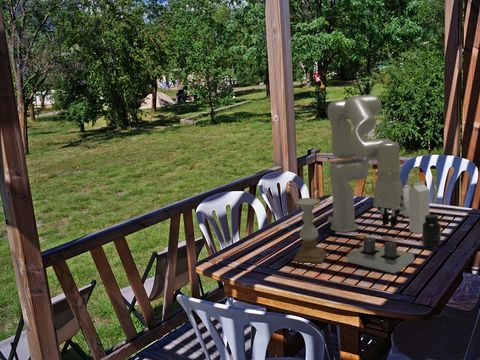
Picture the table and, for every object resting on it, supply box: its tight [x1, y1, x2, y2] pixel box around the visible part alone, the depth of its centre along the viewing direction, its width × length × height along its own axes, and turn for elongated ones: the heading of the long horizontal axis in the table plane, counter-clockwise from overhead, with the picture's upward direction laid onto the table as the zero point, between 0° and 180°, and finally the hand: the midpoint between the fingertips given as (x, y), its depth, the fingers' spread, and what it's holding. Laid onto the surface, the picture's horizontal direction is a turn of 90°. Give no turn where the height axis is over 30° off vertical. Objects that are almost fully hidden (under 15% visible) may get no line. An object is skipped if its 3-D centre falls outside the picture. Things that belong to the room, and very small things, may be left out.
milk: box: [408, 180, 430, 235], centre depth 226 cm, size 6×6×22 cm
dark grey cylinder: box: [383, 241, 398, 260], centre depth 193 cm, size 4×4×8 cm
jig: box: [346, 237, 415, 274], centre depth 197 cm, size 20×14×8 cm
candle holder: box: [293, 197, 328, 265], centre depth 203 cm, size 11×11×24 cm
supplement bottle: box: [422, 214, 442, 248], centre depth 209 cm, size 7×7×12 cm
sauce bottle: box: [398, 180, 411, 218], centre depth 248 cm, size 8×8×18 cm
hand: (389, 224), depth 191 cm, fingers closed
